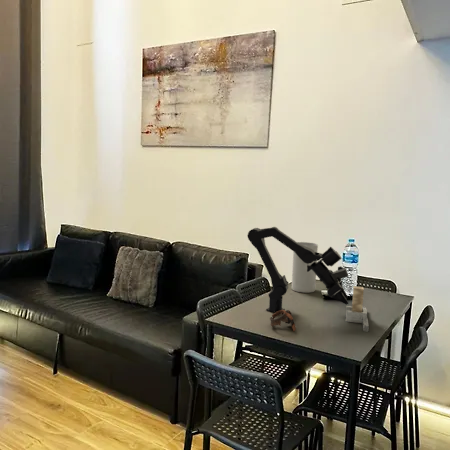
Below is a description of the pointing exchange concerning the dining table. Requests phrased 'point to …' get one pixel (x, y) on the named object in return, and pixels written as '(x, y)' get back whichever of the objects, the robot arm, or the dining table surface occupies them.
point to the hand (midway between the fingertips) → (347, 300)
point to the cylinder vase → (303, 272)
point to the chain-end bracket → (357, 317)
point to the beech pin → (357, 299)
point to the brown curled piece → (283, 318)
